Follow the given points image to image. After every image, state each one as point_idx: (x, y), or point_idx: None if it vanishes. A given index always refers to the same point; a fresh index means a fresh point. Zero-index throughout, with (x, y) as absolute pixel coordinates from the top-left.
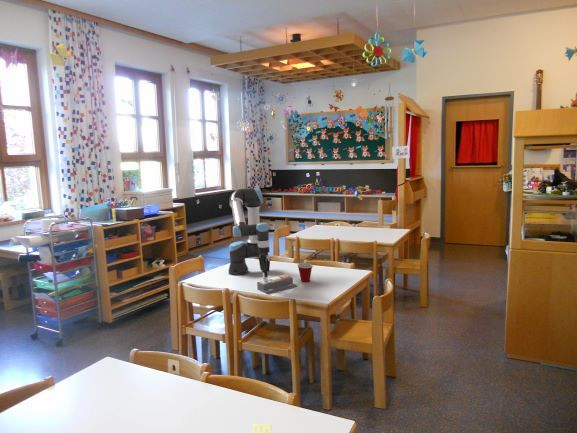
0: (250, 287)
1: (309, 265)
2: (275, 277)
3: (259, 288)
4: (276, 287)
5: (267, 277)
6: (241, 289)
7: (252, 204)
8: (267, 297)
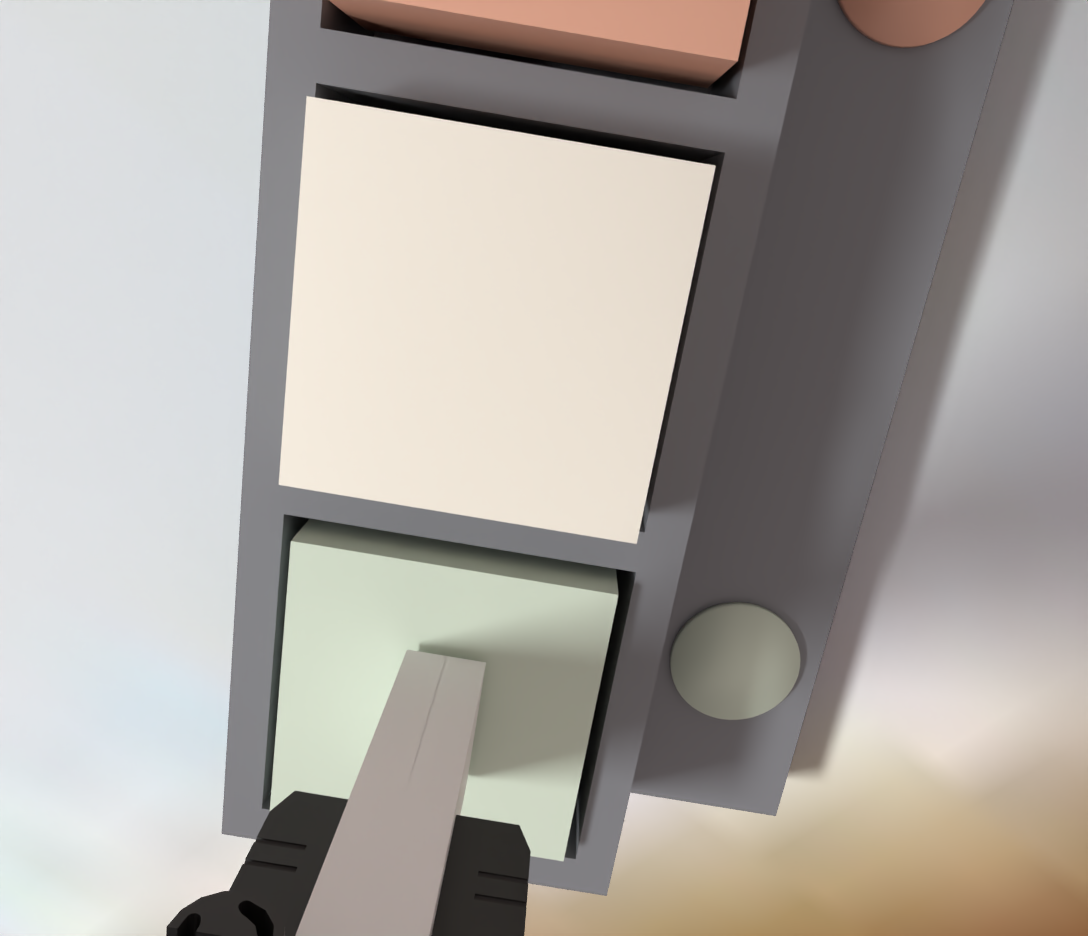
0: (32, 705)
1: None
2: (428, 257)
3: None
4: (714, 432)
5: (466, 750)
6: (29, 900)
7: None
8: (941, 903)
